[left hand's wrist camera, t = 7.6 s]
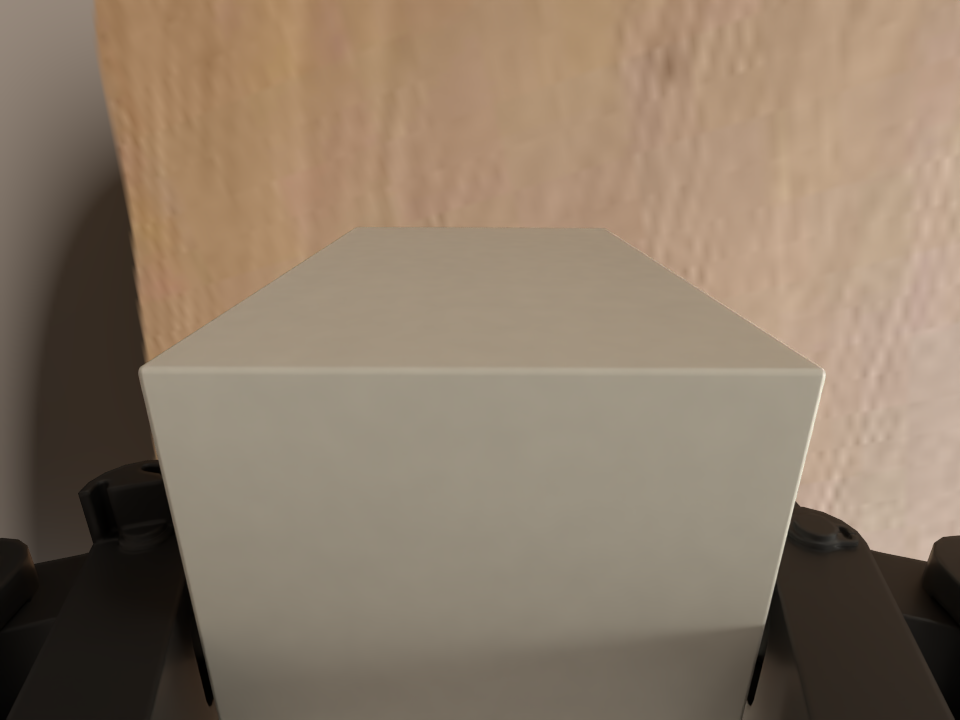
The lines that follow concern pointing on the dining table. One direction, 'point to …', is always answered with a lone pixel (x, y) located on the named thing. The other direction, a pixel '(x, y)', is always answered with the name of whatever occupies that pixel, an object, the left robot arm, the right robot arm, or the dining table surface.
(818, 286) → the dining table surface
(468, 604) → the box
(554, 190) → the dining table surface
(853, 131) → the dining table surface
